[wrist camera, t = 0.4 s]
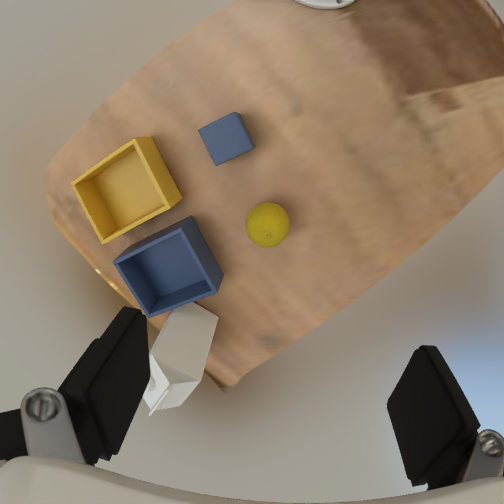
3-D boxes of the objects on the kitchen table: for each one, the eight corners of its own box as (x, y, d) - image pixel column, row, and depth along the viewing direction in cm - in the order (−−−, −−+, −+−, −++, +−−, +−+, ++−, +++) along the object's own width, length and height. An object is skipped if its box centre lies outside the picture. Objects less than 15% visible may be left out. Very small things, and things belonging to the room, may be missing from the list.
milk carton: (219, 316, 51) (195, 403, 33) (200, 342, 53) (173, 427, 36) (181, 294, 49) (140, 375, 32) (164, 322, 52) (124, 403, 34)
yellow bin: (90, 176, 43) (70, 183, 38) (151, 135, 40) (134, 137, 35) (119, 232, 46) (102, 245, 41) (182, 198, 43) (170, 208, 38)
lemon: (247, 232, 45) (241, 254, 37) (250, 194, 43) (244, 209, 35) (285, 236, 45) (288, 258, 37) (290, 198, 42) (293, 214, 35)
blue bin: (127, 247, 47) (112, 261, 42) (191, 215, 44) (181, 227, 39) (159, 299, 50) (148, 318, 45) (223, 274, 48) (217, 292, 42)
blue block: (206, 129, 40) (197, 130, 35) (239, 113, 39) (235, 111, 34) (222, 162, 41) (215, 166, 37) (255, 146, 40) (253, 148, 35)
